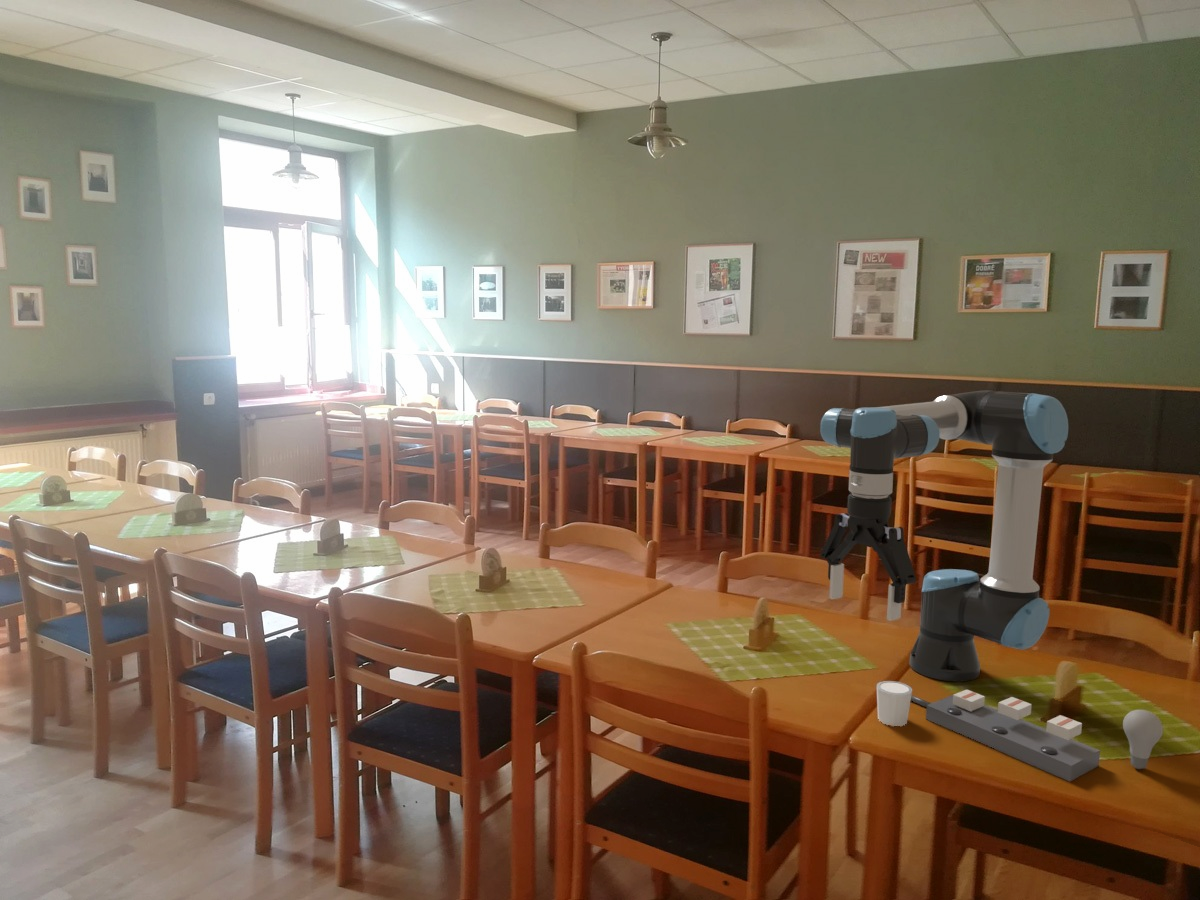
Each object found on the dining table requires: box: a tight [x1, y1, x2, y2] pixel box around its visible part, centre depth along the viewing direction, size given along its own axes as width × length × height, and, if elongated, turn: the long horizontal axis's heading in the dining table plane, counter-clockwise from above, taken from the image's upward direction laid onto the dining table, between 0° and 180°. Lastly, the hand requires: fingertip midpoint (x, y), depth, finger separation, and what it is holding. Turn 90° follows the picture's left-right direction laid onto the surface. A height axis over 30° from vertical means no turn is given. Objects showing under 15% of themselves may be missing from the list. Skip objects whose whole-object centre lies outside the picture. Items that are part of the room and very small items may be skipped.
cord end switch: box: [952, 689, 986, 711], centre depth 176 cm, size 5×4×2 cm
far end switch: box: [1045, 714, 1083, 740], centre depth 161 cm, size 5×4×2 cm
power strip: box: [910, 694, 1101, 783], centre depth 172 cm, size 10×39×3 cm, turn 35°
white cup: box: [875, 680, 913, 727], centre depth 176 cm, size 7×7×7 cm
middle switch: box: [997, 696, 1033, 720], centre depth 168 cm, size 5×4×2 cm
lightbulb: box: [1122, 709, 1164, 770], centre depth 158 cm, size 6×6×11 cm
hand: (863, 608), depth 161 cm, fingers open, 13 cm apart
